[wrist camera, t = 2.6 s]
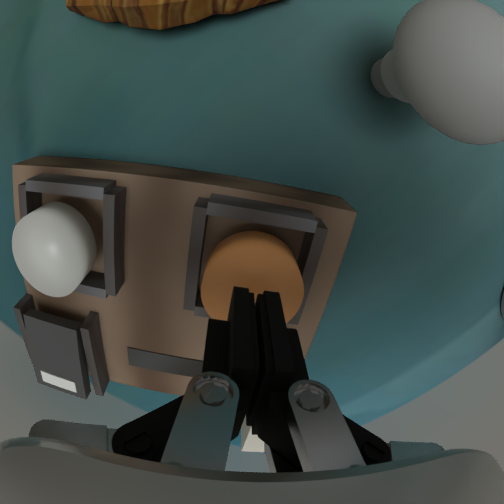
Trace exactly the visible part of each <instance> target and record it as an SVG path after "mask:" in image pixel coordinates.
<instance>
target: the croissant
mask: <svg viewBox="0 0 504 504" xmlns="http://www.w3.org/2000/svg"><path fill="white" fill-rule="evenodd" d="M276 1H281V0H66V7H67V8H68V9H69V10H70V11H72V12H75V13H78V14H81V15H83V16H86V17H89V18H92V19H95V20H98V21H101V22H103V23H108V22H115V21H120V22H122V23H124V24H126V25H128V26H130V27H137V28H148V29H157V30H162V29H166V28H170V27H175V26H179V25H184V24H189V23H194V22H197V21H199V20H201V19H204V18H206V17H208V16H211V15H213V14H233V13H236V12H240V11H243V10H246V9H249V8H252V7H256V6H259V5H263V4H267V3H271V2H276Z"/></svg>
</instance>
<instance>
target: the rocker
mask: <svg viewBox="0 0 504 504" xmlns="http://www.w3.org/2000/svg"><path fill="white" fill-rule="evenodd" d="M23 316H24V322H25V328H26V333H27V338H28V343H29V348H30V353H31V357H32V361H33V366H34V370H35V373H36V377H37V381H38V383H41V384H43V385H46V386H49V387H51V388H54V389H57V390H60V391H63V392H65V393H69V394H71V395H75V396H77V397H81V398H84V399H87V397H88V395H89V394H90V392H91V389H90V383H89V376H88V369H87V362H86V354H85V350H84V345H83V341H82V336H81V331H80V327H81V325H82V323H80V322H76V321H73V320H69V319H65V318H62V317H58V316H55V315H51V314H48V313H45V312H41V311H38V310H35V309H32V308H30V309H29V310H28V311H27V312H26V313H24V314H23Z"/></svg>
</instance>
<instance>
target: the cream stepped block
mask: <svg viewBox="0 0 504 504" xmlns="http://www.w3.org/2000/svg"><path fill="white" fill-rule="evenodd" d="M241 441H242V451H249V452H264V443H265V442H263V441H262V440H261V439H260V438H258V435H252V428H251V426H246V415H245V418H244V421H243V424H242V426H241Z"/></svg>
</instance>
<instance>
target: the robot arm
mask: <svg viewBox="0 0 504 504" xmlns="http://www.w3.org/2000/svg"><path fill="white" fill-rule="evenodd" d="M501 313H502V318H503V320H504V291H503V296H502V302H501ZM245 415H246V426H251V428H252V435H258V438H260V439H261V440H262V441H263V442H265V443H264V450H265V454H266V457H267V461H268V465H269V468H270V473H257V472H256V473H255V472H234V471H225V466H226V462H227V457H228V452H229V447H230V442H231V441H232V440H233V439H234V438H236V437H237V436H238V435H239V432H240V429H241V426H242V424H243V421H244V418H245ZM0 504H504V471H503V470H502V468H501V466H500V465H499V463H498V462H497V460H496V459H495V458H494V457H493V456H492V455H490V454H489V453H487V452H484V451H480V450H474V449H449V450H444V449H443V448H442V446H440V445H438V444H436V443H424V442H399V441H390V442H389V443H386V442H384V441H383V440H382V439H381V438H379V437H377V436H376V435H374V434H373V433H371V432H369V431H368V430H366V429H365V428H363V427H361V426H360V425H358V424H357V423H355V422H353V421H352V420H350V419H349V418H347V417H346V416H344V415H343V414H342V412H341V410H340V408H339V406H338V404H337V402H336V400H335V397H334V395H333V394H332V392H331V391H330V389H329V388H327V387H326V386H325V385H323V384H322V383H320V382H317V381H313V380H309V377H308V373H307V369H306V364H305V360H304V356H303V352H302V348H301V343H300V339H299V335H298V332H297V330H296V329H293V328H287V326H286V322H285V317H284V312H283V307H282V302H281V297H280V293H279V292H273V291H266V290H264V292H263V294H259V293H258V295H257V298H256V303H255V299H254V293H251V292H249V288H244V287H237V286H234V287H233V291H232V297H231V302H230V308H229V313H228V319H227V321H225V320H218V319H211V318H209V319H208V327H207V334H206V342H205V350H204V358H203V367H202V373H200V374H197V375H196V376H194V377H193V378H192V379H191V380H190V382H189V383H188V386H187V389H186V391H185V394H184V395H182V396H180V397H178V398H177V399H175V400H173V401H171V402H169V403H167V404H165V405H163V406H161V407H159V408H157V409H155V410H153V411H151V412H149V413H147V414H145V415H143V416H141V417H139V418H137V419H136V420H133V421H131V422H129V423H127V424H125V425H123V426H121V427H120V428H118V429H108V428H107V426H104V425H92V424H81V423H72V422H64V421H55V420H41V421H38V422H36V423H35V424H34V425H33V426H32V427H31V430H30V432H29V437H19V438H11V439H7V440H4V441H2V442H0Z"/></svg>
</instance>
